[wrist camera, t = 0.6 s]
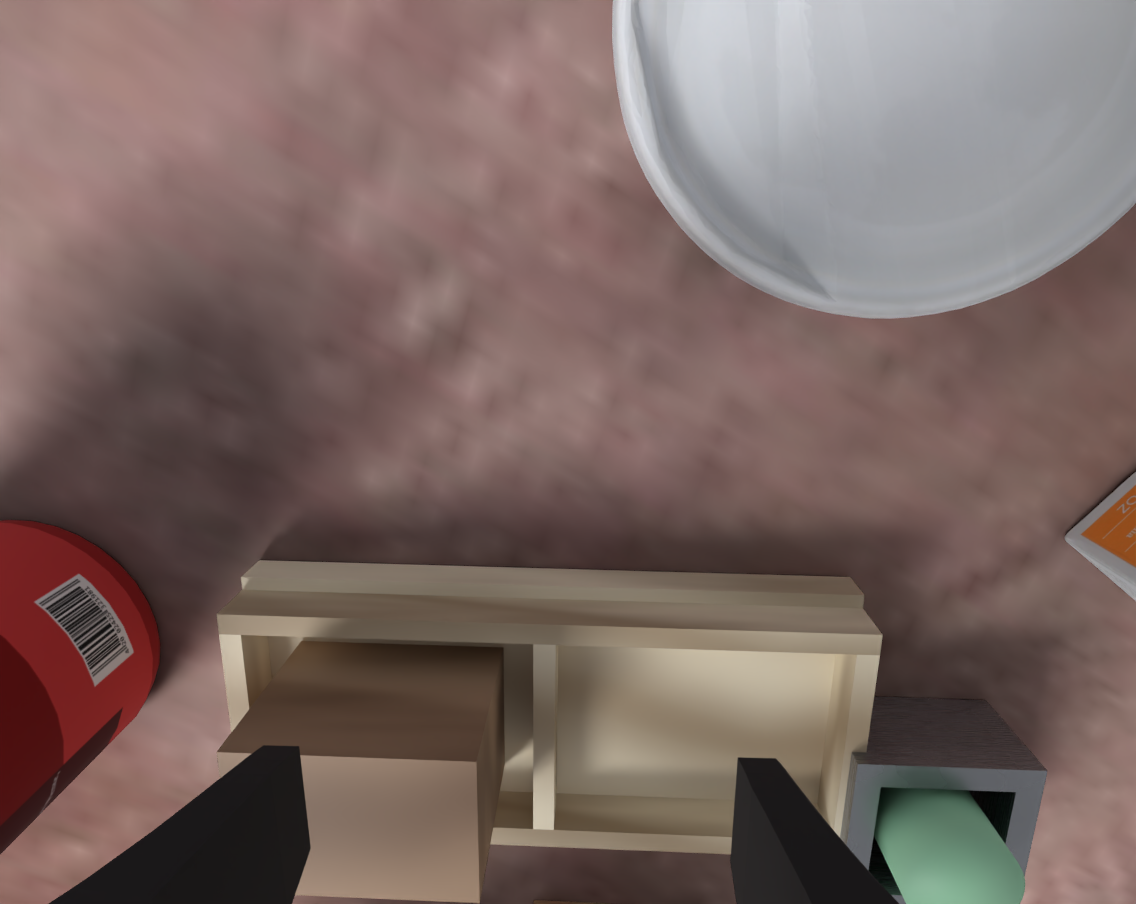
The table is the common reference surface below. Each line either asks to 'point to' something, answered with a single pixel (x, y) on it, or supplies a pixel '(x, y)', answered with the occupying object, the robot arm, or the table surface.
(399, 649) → the seated walnut billet
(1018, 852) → the button housing
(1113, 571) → the skincare box
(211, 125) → the table surface
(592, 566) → the table surface
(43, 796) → the canned food
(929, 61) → the ramekin
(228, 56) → the table surface
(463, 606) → the wooden divided tray
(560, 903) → the block
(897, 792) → the button
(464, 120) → the table surface
